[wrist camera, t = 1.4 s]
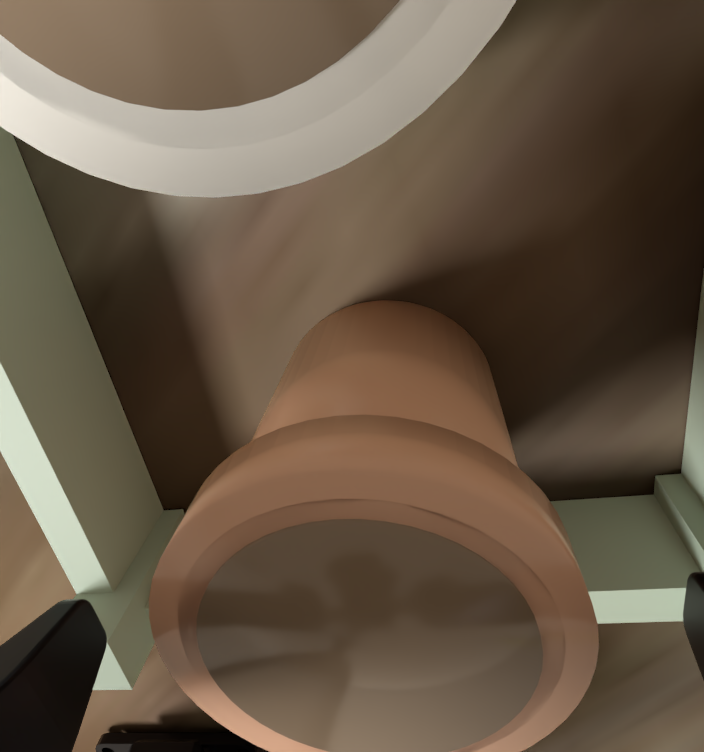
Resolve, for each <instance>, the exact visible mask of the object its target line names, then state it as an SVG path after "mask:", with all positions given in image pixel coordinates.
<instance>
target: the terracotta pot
mask: <svg viewBox="0 0 704 752" xmlns="http://www.w3.org/2000/svg"><path fill="white" fill-rule="evenodd" d="M149 620H150V625H151V630H152V634H153V638H154V641H155V644H156V646H157V649H158V652H159V654H160V657H161V658H162V660H163V662H164V664H165V665H166V667H167V669H168V671H169V672H170V674H171V675H172V677H173V678H174V679H175V681H176V682H177V683H178V685H179V686H180V687H181V689H182V690H183V691H184V692H185V693H186V694H187V695H188V696H189V697H190V698H191V699H192V700H193V701H194V703H195V704H196V705H197V706H198V707H200V708H201V709H202V710H203V711H204V712H206V713H207V714H208V715H209V716H210V717H212V718H213V719H214V720H215V721H217V722H218V723H220V724H221V725H223V726H224V727H225V728H227V729H228V730H230V731H231V732H233V733H234V734H236V735H238V736H240V737H241V738H243V739H245V740H247V741H249V742H250V743H252V744H254V745H256V746H258V747H260V748H263V749H265V750H267V751H269V752H521V751H523V750H525V749H527V748H529V747H531V746H532V745H534V744H535V743H537V742H538V741H540V740H541V739H543V738H544V737H546V736H547V735H549V734H550V733H551V732H552V731H554V730H555V729H556V728H557V727H558V726H559V725H560V724H561V723H563V722H564V721H565V720H566V719H567V718H568V716H569V715H570V714H571V713H572V712H573V710H574V709H575V708H576V707H577V706H578V704H579V703H580V701H581V700H582V698H583V696H584V694H585V693H586V691H587V689H588V687H589V686H590V683H591V680H592V677H593V674H594V671H595V669H596V665H597V657H598V650H599V636H598V623H597V620H596V616H595V612H594V609H593V605H592V601H591V599H590V596H589V593H588V590H587V587H586V585H585V582H584V579H583V576H582V573H581V570H580V568H579V565H578V562H577V559H576V556H575V554H574V551H573V548H572V545H571V542H570V539H569V537H568V534H567V531H566V529H565V527H564V525H563V523H562V521H561V519H560V517H559V515H558V512H557V511H556V509H555V508H554V507H553V505H552V504H551V502H550V501H549V499H548V498H547V497H546V495H545V494H544V492H543V491H542V490H541V489H540V488H539V487H538V486H537V485H536V484H535V483H534V482H533V481H532V480H531V479H530V478H529V477H528V476H527V474H525V473H524V472H523V471H522V470H520V469H519V468H518V465H517V461H516V458H515V454H514V451H513V447H512V444H511V440H510V437H509V433H508V429H507V426H506V422H505V419H504V415H503V412H502V408H501V405H500V401H499V398H498V394H497V391H496V387H495V384H494V380H493V377H492V374H491V370H490V367H489V364H488V362H487V360H486V358H485V355H484V353H483V352H482V350H481V349H480V347H479V346H478V344H477V343H476V341H475V340H474V339H473V338H472V337H471V336H470V335H469V334H468V332H467V331H466V330H464V329H463V328H462V327H461V326H460V325H458V324H457V323H456V322H455V321H453V320H452V319H450V318H448V317H447V316H445V315H444V314H442V313H439V312H437V311H435V310H433V309H431V308H428V307H425V306H422V305H419V304H415V303H410V302H405V301H395V300H379V301H369V302H364V303H359V304H355V305H352V306H349V307H346V308H343V309H341V310H339V311H337V312H335V313H333V314H331V315H329V316H328V317H326V318H325V319H323V320H322V321H320V322H319V323H318V324H317V325H315V326H314V327H313V328H312V329H311V330H310V331H309V332H308V333H307V334H306V335H305V337H304V338H303V339H302V340H301V341H300V343H299V345H298V346H297V348H296V349H295V351H294V353H293V355H292V357H291V359H290V361H289V363H288V365H287V367H286V370H285V372H284V374H283V376H282V378H281V380H280V382H279V384H278V386H277V388H276V390H275V393H274V395H273V397H272V399H271V401H270V403H269V405H268V407H267V409H266V411H265V413H264V415H263V418H262V420H261V422H260V424H259V426H258V428H257V430H256V432H255V434H254V436H253V438H252V441H251V442H250V443H248V444H246V445H245V446H243V447H241V448H240V449H238V450H236V451H235V452H234V453H233V454H231V455H230V456H229V457H228V458H227V459H225V460H224V461H223V462H222V463H221V464H219V465H218V466H217V467H216V469H215V470H214V471H213V472H212V473H211V474H210V475H209V476H208V478H207V479H206V480H205V481H204V482H203V484H202V486H201V487H200V489H199V491H198V492H197V494H196V495H195V497H194V499H193V500H192V502H191V504H190V506H189V508H188V509H187V511H186V513H185V515H184V517H183V518H182V520H181V522H180V524H179V526H178V527H177V529H176V531H175V533H174V535H173V536H172V538H171V540H170V542H169V544H168V545H167V547H166V549H165V551H164V553H163V554H162V556H161V558H160V560H159V563H158V565H157V568H156V570H155V573H154V576H153V578H152V583H151V589H150V595H149Z"/></svg>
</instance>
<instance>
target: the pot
mask: <svg viewBox="0 0 704 752" xmlns="http://www.w3.org/2000/svg"><path fill="white" fill-rule="evenodd" d="M516 1H517V0H0V126H1V127H2V128H3V129H5V130H6V131H8V132H10V133H11V134H13V135H14V136H16V137H18V138H19V139H21V140H23V141H24V142H26V143H28V144H29V145H31V146H33V147H34V148H36V149H37V150H39V151H41V152H42V153H44V154H46V155H48V156H50V157H52V158H54V159H56V160H59V161H61V162H63V163H65V164H67V165H69V166H72V167H74V168H76V169H78V170H80V171H82V172H85V173H87V174H89V175H92V176H95V177H98V178H102V179H105V180H108V181H111V182H114V183H117V184H120V185H123V186H126V187H130V188H134V189H139V190H145V191H150V192H156V193H161V194H167V195H172V196H191V197H213V198H217V197H228V196H238V195H249V194H259V193H263V192H267V191H271V190H275V189H279V188H283V187H287V186H291V185H296V184H300V183H303V182H305V181H308V180H310V179H313V178H315V177H318V176H320V175H323V174H325V173H328V172H330V171H333V170H335V169H337V168H340V167H342V166H344V165H346V164H348V163H349V162H351V161H353V160H355V159H356V158H358V157H360V156H362V155H363V154H365V153H367V152H369V151H370V150H372V149H374V148H376V147H377V146H379V145H381V144H383V143H384V142H385V141H387V140H388V139H389V138H391V137H392V136H393V135H395V134H396V133H397V132H399V131H400V130H401V129H402V128H404V127H405V126H406V125H408V124H409V123H410V122H412V121H413V120H414V119H416V118H417V117H418V116H419V115H421V114H422V113H423V112H424V111H425V110H427V109H428V108H429V107H430V106H431V105H432V104H433V103H434V102H435V101H436V100H437V99H438V98H439V97H440V96H441V95H442V94H443V93H444V92H445V91H446V90H447V89H448V88H449V87H450V86H451V85H452V84H453V83H454V82H455V81H456V80H457V79H458V78H459V77H460V76H461V75H462V74H463V73H464V71H465V70H466V69H467V68H468V66H469V65H470V64H471V63H472V61H473V60H474V59H475V58H476V56H477V55H478V54H479V53H480V51H481V50H482V49H483V48H484V46H485V45H486V44H487V43H488V41H489V40H490V39H491V38H492V36H493V35H494V34H495V33H496V31H497V30H498V29H499V28H500V26H501V24H502V23H503V21H504V20H505V18H506V16H507V15H508V13H509V12H510V10H511V9H512V7H513V5H514V4H515V2H516Z"/></svg>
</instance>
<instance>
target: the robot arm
mask: <svg viewBox="0 0 704 752" xmlns="http://www.w3.org/2000/svg"><path fill="white" fill-rule="evenodd" d="M683 622H684V627H685V631H686V634H687V637H688V639H689V642H690V645H691V648H692V650H693V653H694V656H695V658H696V661H697V664H698V666H699V669H700V672H701V675H702V677H703V680H704V572H693V573H691V574H690V575H689V577H688V579H687V586H686V593H685V601H684V609H683ZM106 645H107V636H106V632H105V629H104V628H103V626H102V624H101V622H100V620H99V618H98V616H97V614H96V612H95V610H94V608H93V606H92V605H91V603H90V602H89V601H87V600H86V599H71V600H63V601H60V602H58V603H57V604H55V605H54V606H53V607H51V608H50V609H49V610H47V611H46V612H45V613H43V614H42V615H41V616H39V617H38V618H37V619H36V620H34V621H33V622H32V623H30V624H29V625H28V626H26V627H25V628H24V629H22V630H21V631H20V632H18V633H17V634H16V635H14V636H13V637H12V638H10V639H9V640H8V641H6V642H5V643H4V644H2V645H1V646H0V752H72V750H73V747H74V744H75V741H76V738H77V735H78V733H79V730H80V727H81V724H82V720H83V717H84V714H85V711H86V708H87V705H88V702H89V699H90V696H91V693H92V690H93V687H94V684H95V681H96V678H97V675H98V672H99V668H100V665H101V662H102V659H103V656H104V653H105V650H106ZM95 749H96V752H263V749H262V748H260V747H258V746H256V745H254V744H252V743H250V742H249V741H247V740H245V739H243V738H241V737H240V736H238V735H236V734H234V733H105V734H103V735H102V736H101V738H100V740H99V742H98V744H97V746H96V748H95Z"/></svg>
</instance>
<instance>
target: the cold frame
mask: <svg viewBox="0 0 704 752" xmlns="http://www.w3.org/2000/svg"><path fill="white" fill-rule="evenodd" d="M0 451H1V453H2V455H3V457H4V459H5V461H6V463H7V464H8V466H9V468H10V470H11V472H12V474H13V476H14V478H15V479H16V481H17V483H18V485H19V487H20V489H21V491H22V493H23V494H24V496H25V498H26V500H27V502H28V504H29V506H30V508H31V509H32V511H33V513H34V515H35V517H36V519H37V521H38V523H39V524H40V526H41V528H42V530H43V532H44V534H45V536H46V537H47V539H48V541H49V543H50V545H51V547H52V549H53V551H54V552H55V554H56V556H57V558H58V560H59V562H60V564H61V566H62V567H63V569H64V571H65V573H66V575H67V577H68V579H69V581H70V582H71V584H72V586H73V588H74V590H75V592H76V596H75V597H74V599H86V600H87V601H89V602H90V603H91V605H92V606H93V608H94V610H95V612H96V614H97V616H98V618H99V620H100V622H101V624H102V626H103V628H104V629H105V632H106V636H107V645H106V650H105V653H104V656H103V659H102V662H101V665H100V668H99V672H98V675H97V678H96V681H95V684H94V687H93V690H132V689H133V687H134V684H135V682H136V680H137V678H138V676H139V674H140V672H141V670H142V668H143V666H144V664H145V662H146V659H147V657H148V655H149V653H150V651H151V649H152V647H153V645H154V643H155V641H154V638H153V634H152V630H151V625H150V620H149V595H150V589H151V583H152V578H153V576H154V573H155V570H156V568H157V565H158V563H159V560H160V558H161V556H162V554H163V553H164V551H165V549H166V547H167V545H168V544H169V542H170V540H171V538H172V536H173V535H174V533H175V531H176V529H177V527H178V526H179V524H180V522H181V520H182V518H183V517H184V515H185V513H184V511H183V509H177V510H163V507H162V505H161V502H160V500H159V497H158V495H157V492H156V490H155V487H154V485H153V482H152V480H151V477H150V475H149V472H148V470H147V467H146V465H145V463H144V460H143V458H142V455H141V453H140V450H139V448H138V445H137V443H136V440H135V438H134V435H133V433H132V430H131V428H130V425H129V423H128V420H127V418H126V415H125V413H124V410H123V408H122V405H121V403H120V400H119V398H118V395H117V393H116V390H115V388H114V385H113V383H112V380H111V378H110V375H109V373H108V370H107V368H106V365H105V363H104V361H103V358H102V356H101V353H100V351H99V348H98V346H97V343H96V341H95V338H94V336H93V333H92V331H91V328H90V326H89V323H88V321H87V318H86V316H85V313H84V311H83V308H82V306H81V303H80V301H79V298H78V296H77V293H76V291H75V288H74V286H73V283H72V281H71V278H70V276H69V273H68V271H67V268H66V266H65V263H64V261H63V258H62V256H61V254H60V251H59V249H58V246H57V244H56V241H55V239H54V236H53V234H52V231H51V229H50V226H49V224H48V221H47V219H46V216H45V214H44V211H43V209H42V206H41V204H40V201H39V199H38V196H37V194H36V191H35V189H34V186H33V184H32V181H31V179H30V176H29V174H28V171H27V169H26V166H25V164H24V161H23V159H22V156H21V154H20V152H19V149H18V147H17V144H16V142H15V139H14V137H13V134H11V133H10V132H8V131H6V130H5V129H3V128H2V127H1V126H0ZM550 502H551V504H552V505H553V507H554V508H555V509H556V511H557V512H558V515H559V517H560V519H561V521H562V523H563V525H564V527H565V529H566V531H567V534H568V537H569V539H570V542H571V545H572V548H573V551H574V554H575V556H576V559H577V562H578V565H579V568H580V570H581V573H582V576H583V579H584V582H585V585H586V587H587V590H588V593H589V596H590V599H591V601H592V605H593V609H594V612H595V616H596V620H597V623H598V624H603V623H637V622H670V621H683V609H684V601H685V593H686V586H687V579H688V577H689V575H690V574H691V573H693V572H704V270H703V280H702V289H701V298H700V307H699V316H698V325H697V334H696V343H695V352H694V361H693V370H692V379H691V388H690V397H689V406H688V415H687V424H686V433H685V443H684V452H683V461H682V470H681V474H671V475H657V476H655V485H654V495H639V496H624V497H609V498H594V499H579V500H563V501H550Z"/></svg>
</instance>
